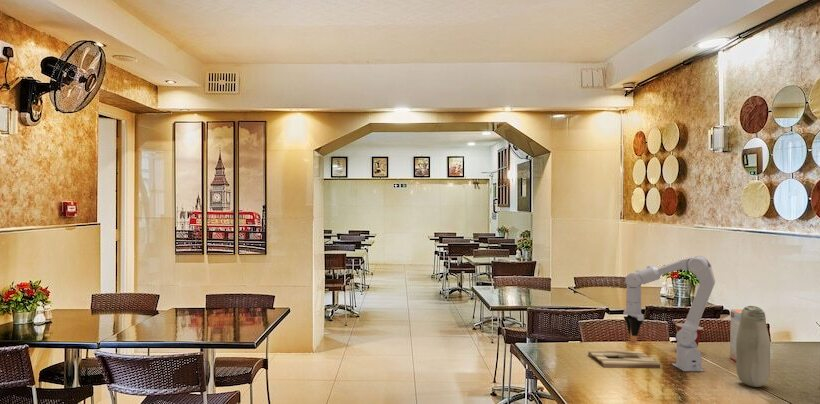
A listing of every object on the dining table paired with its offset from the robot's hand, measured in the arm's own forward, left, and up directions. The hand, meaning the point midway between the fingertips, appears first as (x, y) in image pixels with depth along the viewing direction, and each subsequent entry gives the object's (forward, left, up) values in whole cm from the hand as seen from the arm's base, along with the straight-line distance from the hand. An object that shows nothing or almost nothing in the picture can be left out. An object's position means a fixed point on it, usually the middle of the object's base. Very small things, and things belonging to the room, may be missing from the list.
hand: (633, 334), depth 229 cm
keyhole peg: (0, 0, -4) cm, 4 cm away
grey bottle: (-34, -28, -10) cm, 45 cm away
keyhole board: (-4, +6, -10) cm, 12 cm away
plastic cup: (+12, -30, -10) cm, 34 cm away
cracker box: (-4, -44, -10) cm, 45 cm away
